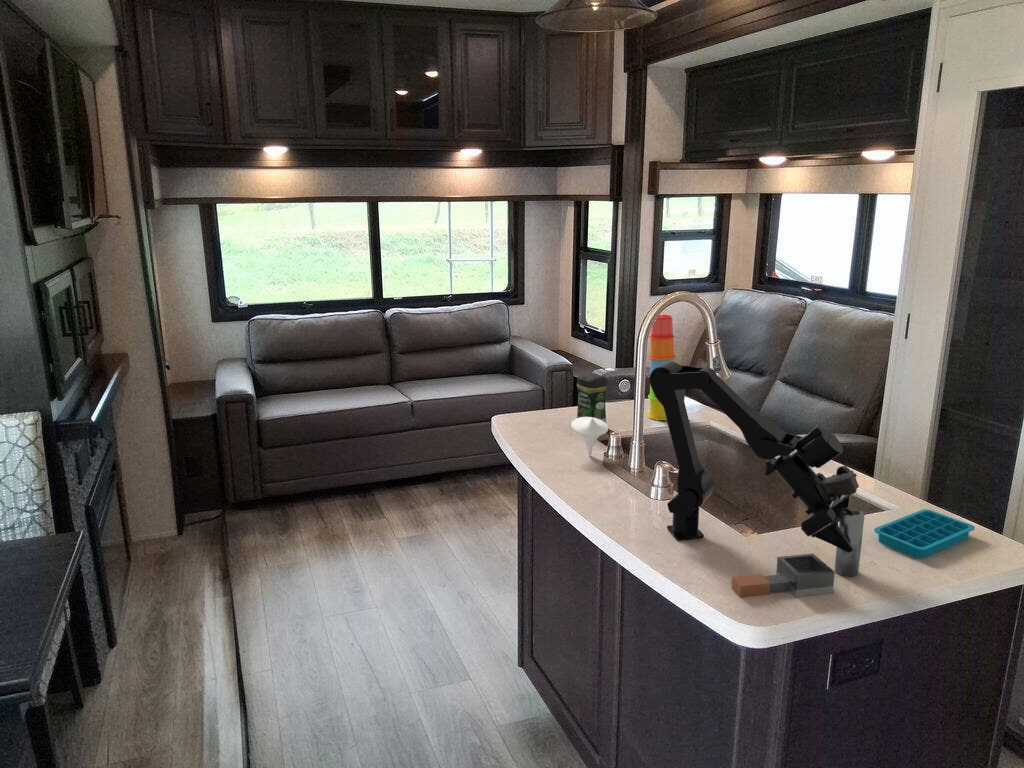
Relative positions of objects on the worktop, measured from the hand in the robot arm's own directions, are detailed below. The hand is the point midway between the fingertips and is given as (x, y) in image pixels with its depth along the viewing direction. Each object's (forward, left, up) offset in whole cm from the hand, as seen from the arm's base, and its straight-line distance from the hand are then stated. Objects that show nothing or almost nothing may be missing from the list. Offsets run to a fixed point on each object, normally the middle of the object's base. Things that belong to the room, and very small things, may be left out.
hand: (855, 541), depth 148 cm
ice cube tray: (-10, +24, -7) cm, 27 cm away
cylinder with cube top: (-1, -1, -7) cm, 7 cm away
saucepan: (+2, -17, -7) cm, 19 cm away
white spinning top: (-77, -34, -7) cm, 84 cm away
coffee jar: (-101, -27, -7) cm, 104 cm away
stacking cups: (-108, 0, -7) cm, 108 cm away
